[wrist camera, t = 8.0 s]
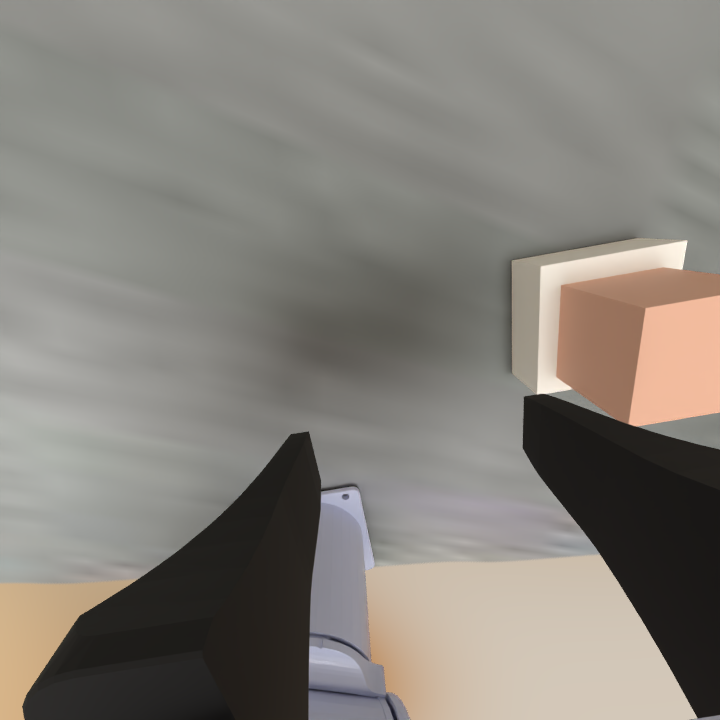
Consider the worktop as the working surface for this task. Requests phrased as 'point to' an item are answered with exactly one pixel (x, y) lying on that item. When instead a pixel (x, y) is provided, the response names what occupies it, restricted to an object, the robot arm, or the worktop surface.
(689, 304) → the terracotta cube
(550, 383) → the cream plinth
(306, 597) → the robot arm
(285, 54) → the worktop surface
